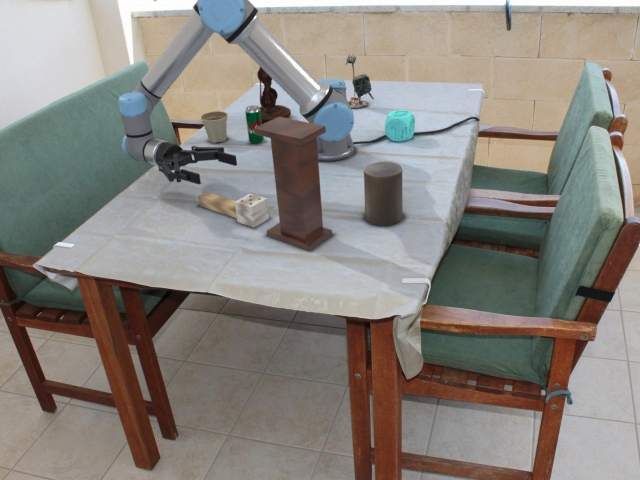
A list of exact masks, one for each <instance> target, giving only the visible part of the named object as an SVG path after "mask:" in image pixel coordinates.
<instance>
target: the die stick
mask: <svg viewBox="0 0 640 480" xmlns="http://www.w3.org/2000/svg"><path fill="white" fill-rule="evenodd" d="M197 197H198V202H199V203H198V204H199V207H201V208H204V209H207V210H210V211H214V212H217V213H220V214H223V215H226V216H229V217H232V218H233V219H236V221H237V223H238V224H242V225H244V226H247V227H251V228H253V229H254V228H257V227H258V226H260V225H261V224H263V223H264V222H266V221H268V220H269V219H270V215H269V213H270V212H269V206H268V197H263V196H260V195H257V194H254V193H248V194H246V195H244V196H243V197H241V198H239V199H237V200H235V199H231V198H228V197H225V196H222V195H218V194H216V193H212V192H209V191H204V192H203V193H201V194H199V195H198V196H197Z"/></svg>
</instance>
